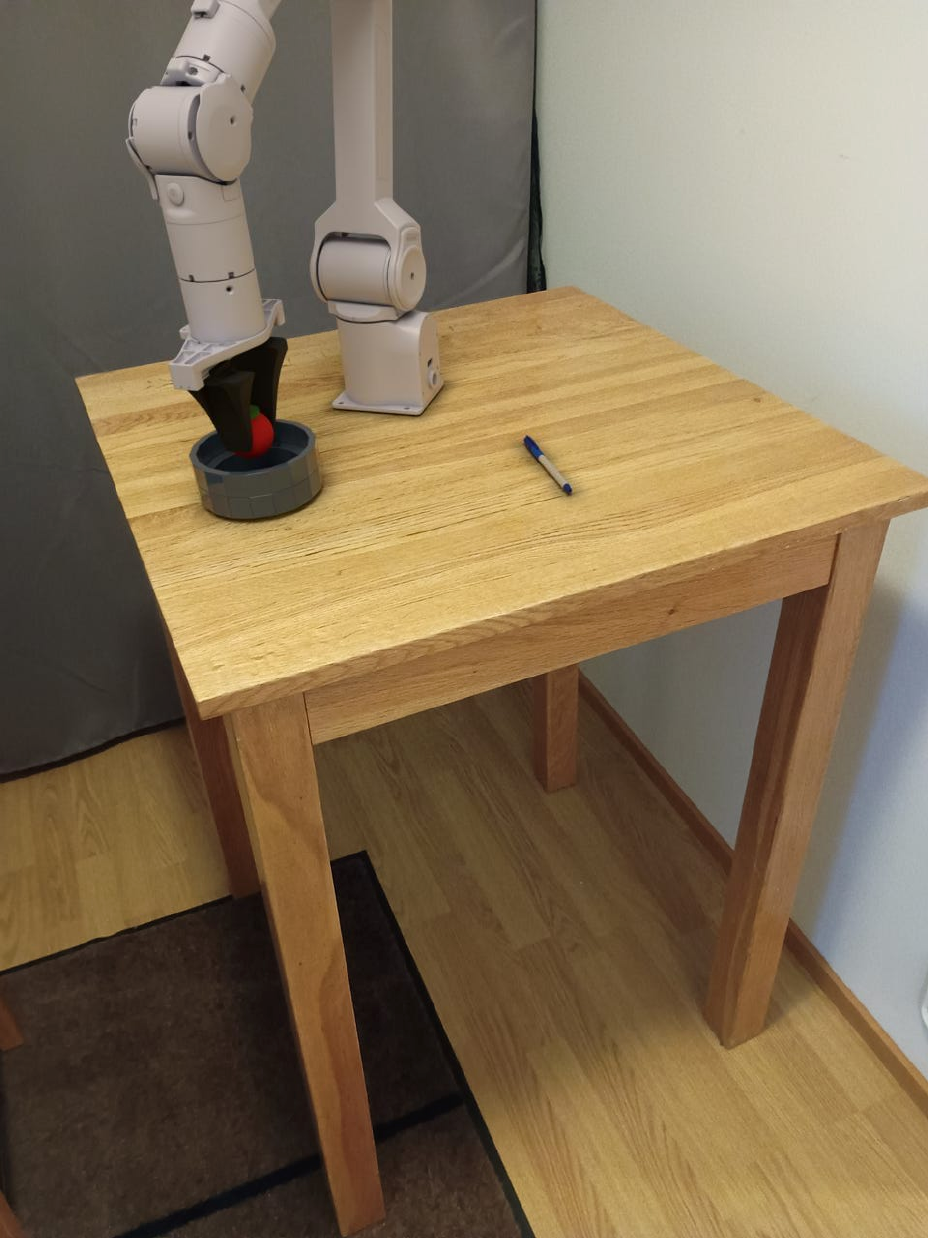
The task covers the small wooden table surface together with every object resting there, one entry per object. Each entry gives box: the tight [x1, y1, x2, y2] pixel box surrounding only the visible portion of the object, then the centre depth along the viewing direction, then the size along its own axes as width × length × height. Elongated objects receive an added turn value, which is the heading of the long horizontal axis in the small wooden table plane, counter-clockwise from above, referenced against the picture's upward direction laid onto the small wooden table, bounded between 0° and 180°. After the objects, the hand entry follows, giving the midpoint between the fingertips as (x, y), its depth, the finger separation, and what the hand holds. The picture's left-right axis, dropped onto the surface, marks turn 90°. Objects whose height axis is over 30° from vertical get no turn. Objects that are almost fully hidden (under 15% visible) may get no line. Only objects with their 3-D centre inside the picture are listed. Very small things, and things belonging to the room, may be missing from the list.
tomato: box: [233, 405, 274, 459], centre depth 77 cm, size 4×4×4 cm
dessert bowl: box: [188, 418, 324, 520], centre depth 79 cm, size 10×10×4 cm
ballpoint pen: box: [522, 434, 573, 494], centre depth 80 cm, size 10×1×1 cm, turn 19°
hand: (251, 438), depth 77 cm, fingers closed on tomato, 3 cm apart
